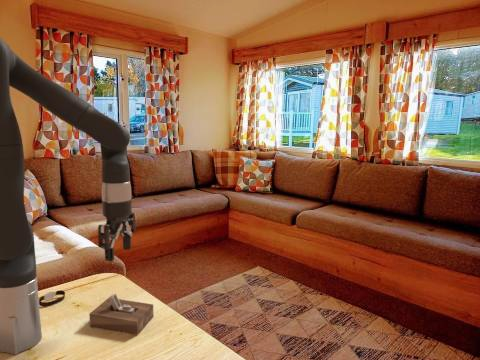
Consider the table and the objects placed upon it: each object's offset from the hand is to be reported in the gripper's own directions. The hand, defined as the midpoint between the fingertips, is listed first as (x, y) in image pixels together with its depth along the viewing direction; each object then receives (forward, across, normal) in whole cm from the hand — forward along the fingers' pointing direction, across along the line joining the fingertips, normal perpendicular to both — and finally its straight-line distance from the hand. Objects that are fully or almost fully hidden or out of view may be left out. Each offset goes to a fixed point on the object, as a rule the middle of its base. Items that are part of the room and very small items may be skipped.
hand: (118, 254), depth 98 cm
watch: (+21, -4, -26) cm, 34 cm away
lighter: (+20, 0, 0) cm, 20 cm away
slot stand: (+20, 0, +1) cm, 20 cm away
